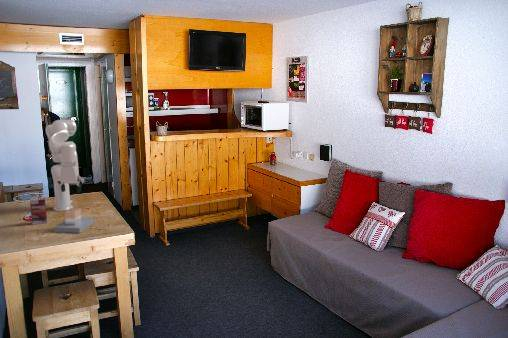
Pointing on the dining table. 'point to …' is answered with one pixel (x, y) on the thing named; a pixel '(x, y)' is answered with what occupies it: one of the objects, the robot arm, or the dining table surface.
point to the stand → (73, 226)
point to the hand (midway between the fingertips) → (71, 191)
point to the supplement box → (38, 210)
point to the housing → (73, 216)
